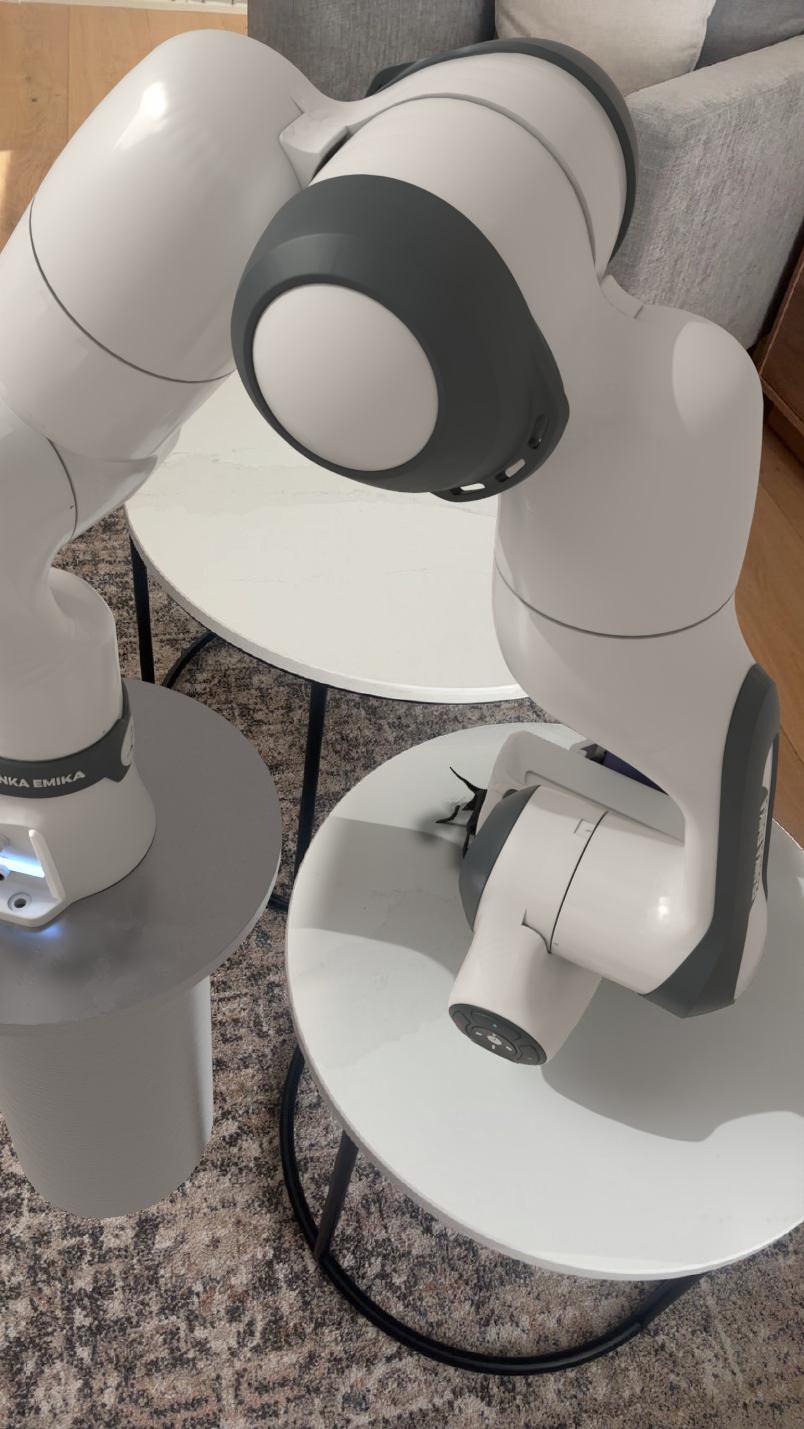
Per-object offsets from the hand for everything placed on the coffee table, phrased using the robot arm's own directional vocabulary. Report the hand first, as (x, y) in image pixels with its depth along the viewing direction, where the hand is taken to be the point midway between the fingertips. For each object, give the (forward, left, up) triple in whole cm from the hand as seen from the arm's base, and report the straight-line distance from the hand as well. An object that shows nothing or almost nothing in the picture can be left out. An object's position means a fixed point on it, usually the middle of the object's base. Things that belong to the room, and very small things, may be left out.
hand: (645, 754), depth 89 cm
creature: (-13, -4, -9) cm, 16 cm away
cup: (0, -1, -8) cm, 8 cm away
